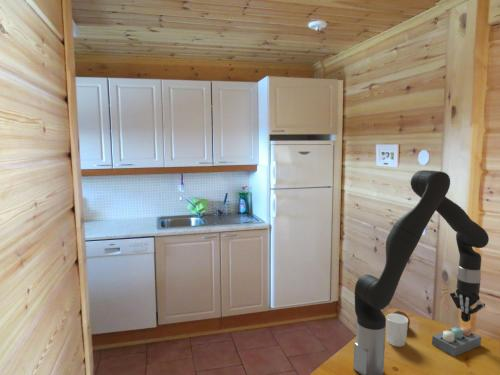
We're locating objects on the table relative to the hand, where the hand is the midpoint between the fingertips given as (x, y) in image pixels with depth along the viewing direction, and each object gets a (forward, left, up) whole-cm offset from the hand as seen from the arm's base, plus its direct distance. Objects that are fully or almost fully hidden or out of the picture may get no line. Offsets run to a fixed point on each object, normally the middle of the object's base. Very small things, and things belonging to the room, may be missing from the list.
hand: (465, 320), depth 138 cm
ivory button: (-10, 0, -6) cm, 12 cm away
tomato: (-14, +19, -9) cm, 25 cm away
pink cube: (0, 0, -7) cm, 7 cm away
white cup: (-24, +12, -9) cm, 28 cm away
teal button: (-5, 0, -6) cm, 8 cm away
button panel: (-5, 0, -9) cm, 10 cm away
